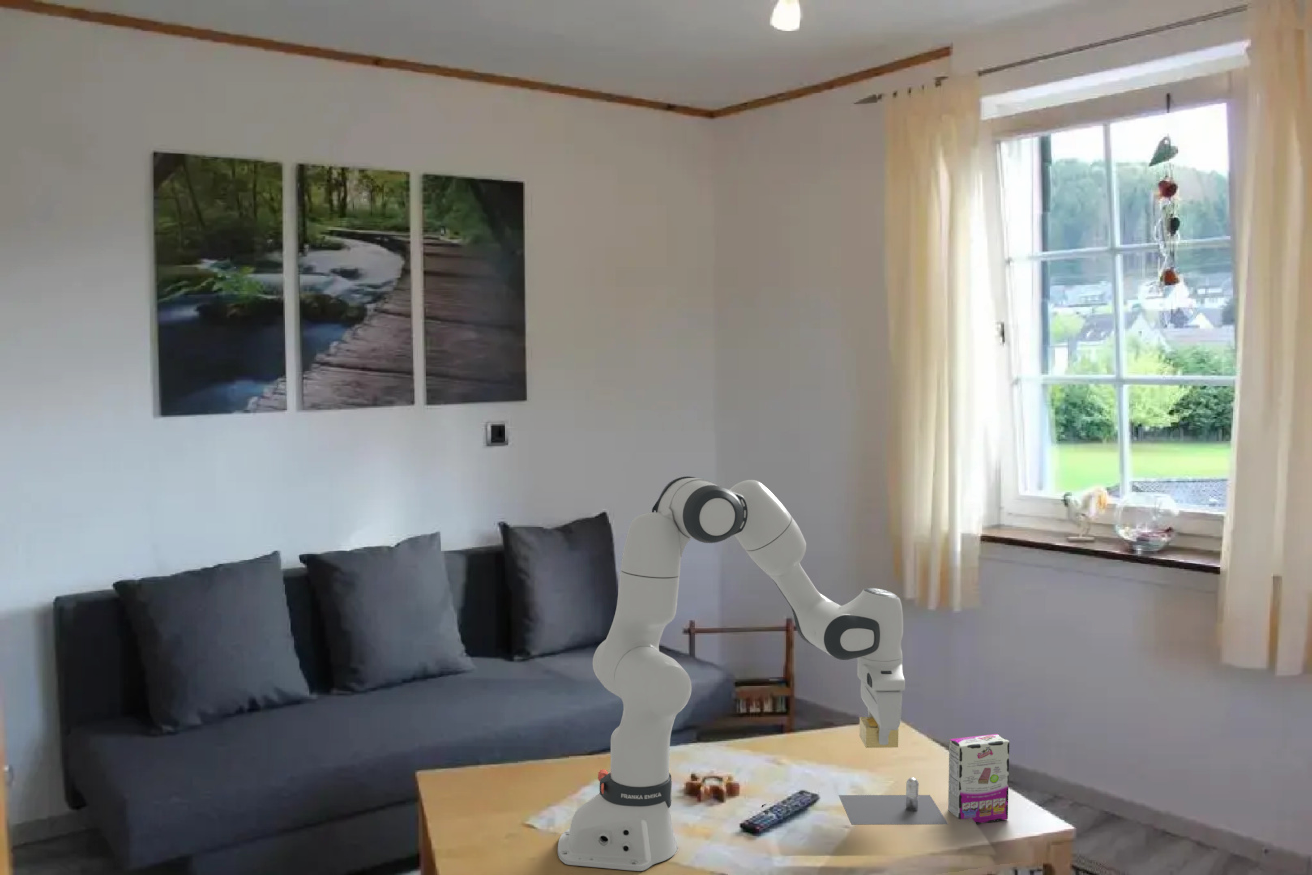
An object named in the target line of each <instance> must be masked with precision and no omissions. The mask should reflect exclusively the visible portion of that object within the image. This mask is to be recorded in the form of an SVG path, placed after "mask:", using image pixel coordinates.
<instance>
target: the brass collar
mask: <svg viewBox="0 0 1312 875" xmlns="http://www.w3.org/2000/svg"><path fill="white" fill-rule="evenodd" d="M878 734H879V727H878V724H877V723H876V721H875V719H874V718H873V717H869V716H859V738H860V740H861V742H862V744H863V745H864V747H865V749H867V748H868V749H873V748H874V749H877V748H878V749H881V748H883V749H884V748H886V749H887V748H890V749H891V748H899V728H898V729H897V730H890V733H889V736H888V744H887V745H880V744H879V742H878Z"/></svg>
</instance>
